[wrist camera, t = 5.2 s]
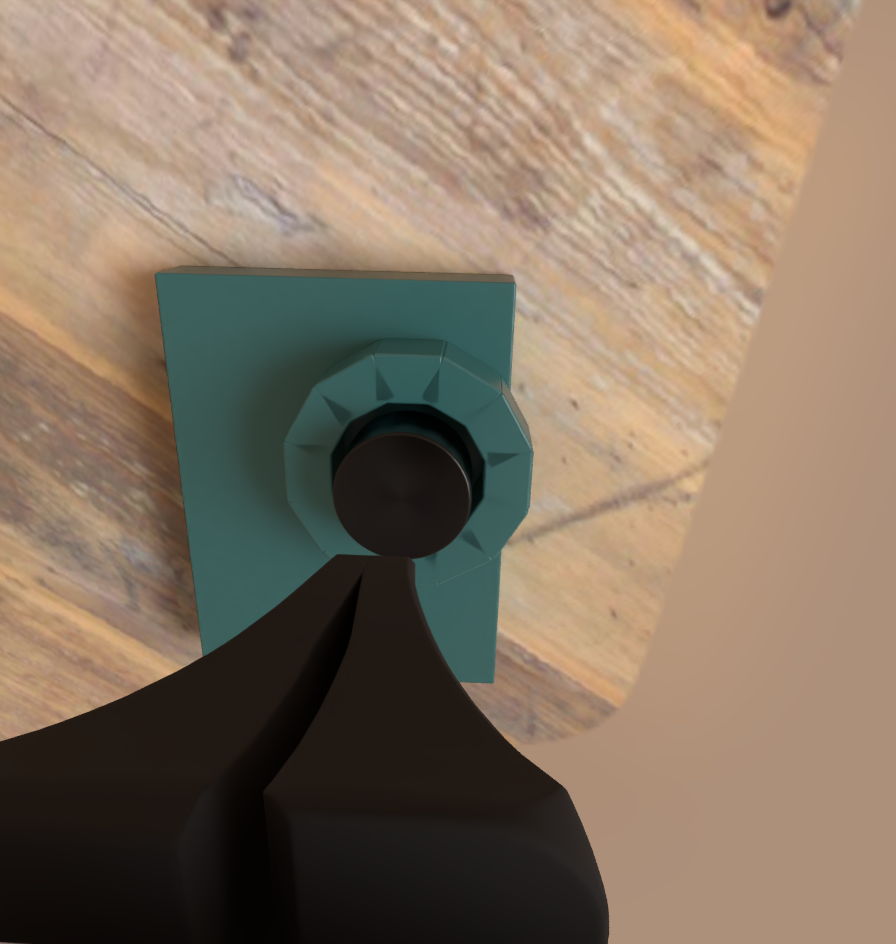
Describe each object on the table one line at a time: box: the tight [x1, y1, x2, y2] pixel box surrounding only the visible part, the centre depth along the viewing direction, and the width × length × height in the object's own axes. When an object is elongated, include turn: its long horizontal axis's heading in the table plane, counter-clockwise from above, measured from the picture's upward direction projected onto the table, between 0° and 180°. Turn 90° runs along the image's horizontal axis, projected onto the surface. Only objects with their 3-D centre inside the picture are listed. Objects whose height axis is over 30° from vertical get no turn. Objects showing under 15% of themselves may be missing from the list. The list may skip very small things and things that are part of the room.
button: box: [333, 411, 473, 559], centre depth 17 cm, size 3×3×2 cm
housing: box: [155, 266, 533, 683], centre depth 20 cm, size 12×10×4 cm
